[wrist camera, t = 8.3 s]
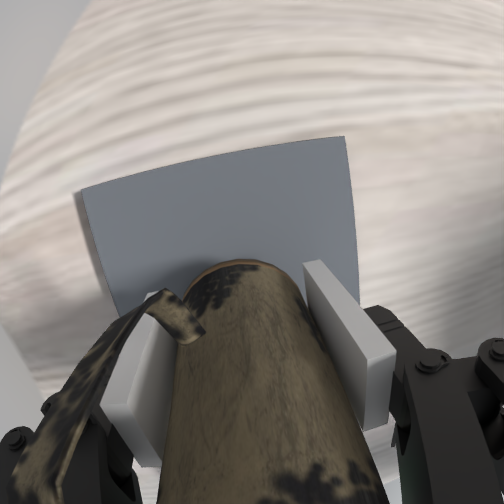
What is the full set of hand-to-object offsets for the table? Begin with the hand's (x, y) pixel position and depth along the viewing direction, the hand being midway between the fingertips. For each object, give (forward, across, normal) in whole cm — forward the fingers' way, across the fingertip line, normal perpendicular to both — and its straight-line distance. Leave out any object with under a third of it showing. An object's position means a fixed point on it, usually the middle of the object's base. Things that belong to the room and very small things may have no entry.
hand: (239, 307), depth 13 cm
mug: (+1, 0, 0) cm, 1 cm away
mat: (+3, 0, 0) cm, 3 cm away
